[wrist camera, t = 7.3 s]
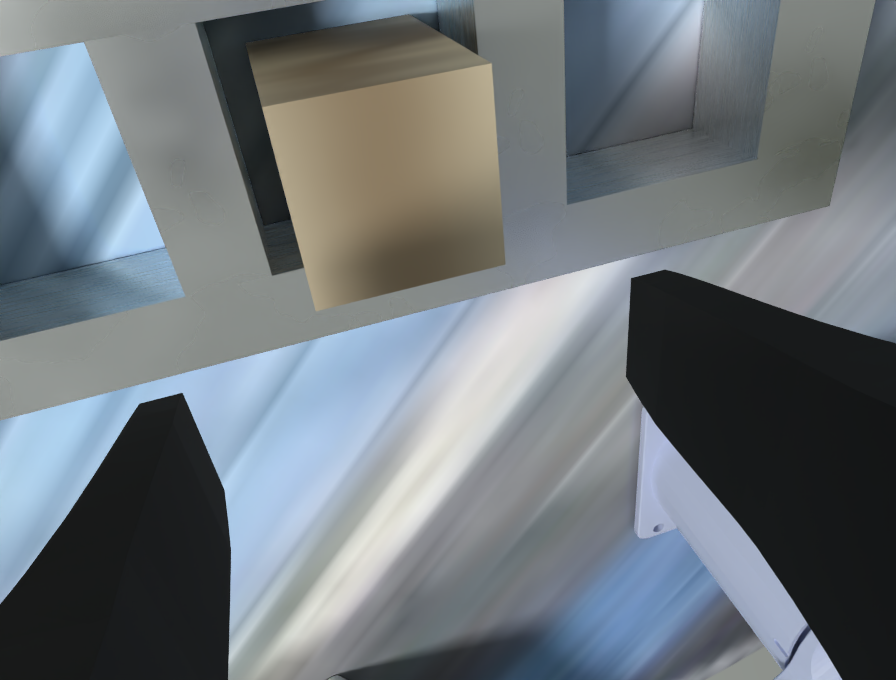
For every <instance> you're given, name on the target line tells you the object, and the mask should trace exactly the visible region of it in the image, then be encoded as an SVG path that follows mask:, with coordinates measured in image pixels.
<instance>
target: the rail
mask: <svg viewBox="0 0 896 680" xmlns="http://www.w3.org/2000/svg"><path fill="white" fill-rule="evenodd" d="M318 1H323V0H0V56H6V55H11V54H17V53H23V52H29V51H35V50H40V49H46V48H52V47H58V46H63V45H69V44H75V43H81V42H84V43H85V46H86V48H87V51H88V53H89V56H90V58H91V61H92V63H93V66H94V68H95V71H96V73H97V76H98V78H99V81H100V83H101V86H102V89H103V91H104V94H105V96H106V99H107V101H108V104H109V106H110V109H111V111H112V114H113V116H114V119H115V121H116V124H117V126H118V129H119V131H120V134H121V136H122V139H123V141H124V144H125V146H126V149H127V151H128V154H129V156H130V159H131V161H132V164H133V166H134V169H135V171H136V174H137V176H138V179H139V181H140V184H141V186H142V189H143V191H144V194H145V196H146V199H147V202H148V204H149V207H150V209H151V212H152V214H153V217H154V219H155V222H156V224H157V227H158V229H159V232H160V234H161V237H162V239H163V242H164V244H165V247H166V248H164V249H159V250H155V251H150V252H146V253H141V254H137V255H133V256H128V257H124V258H119V259H115V260H111V261H106V262H102V263H97V264H93V265H89V266H84V267H80V268H75V269H71V270H67V271H62V272H58V273H53V274H49V275H45V276H40V277H36V278H31V279H27V280H23V281H18V282H14V283H9V284H5V285H1V286H0V420H4V419H8V418H11V417H15V416H19V415H23V414H27V413H31V412H35V411H38V410H42V409H46V408H50V407H54V406H58V405H62V404H66V403H69V402H73V401H77V400H81V399H85V398H89V397H93V396H96V395H100V394H104V393H108V392H112V391H116V390H120V389H123V388H127V387H131V386H135V385H139V384H143V383H147V382H151V381H154V380H158V379H162V378H166V377H170V376H174V375H178V374H181V373H185V372H189V371H193V370H197V369H201V368H205V367H209V366H212V365H216V364H220V363H224V362H228V361H232V360H236V359H239V358H243V357H247V356H251V355H255V354H259V353H263V352H266V351H270V350H274V349H278V348H282V347H286V346H290V345H294V344H297V343H301V342H305V341H309V340H313V339H317V338H321V337H324V336H328V335H332V334H336V333H340V332H344V331H348V330H352V329H355V328H359V327H363V326H367V325H371V324H375V323H379V322H382V321H386V320H390V319H394V318H398V317H402V316H406V315H409V314H413V313H417V312H421V311H425V310H429V309H433V308H437V307H440V306H444V305H448V304H452V303H456V302H460V301H464V300H467V299H471V298H475V297H479V296H483V295H487V294H491V293H495V292H498V291H502V290H506V289H510V288H514V287H518V286H522V285H525V284H529V283H533V282H537V281H541V280H545V279H549V278H552V277H556V276H560V275H564V274H568V273H572V272H576V271H580V270H583V269H587V268H591V267H595V266H599V265H603V264H607V263H610V262H614V261H618V260H622V259H626V258H630V257H634V256H638V255H641V254H645V253H649V252H653V251H657V250H661V249H665V248H668V247H672V246H676V245H680V244H684V243H688V242H692V241H695V240H699V239H703V238H707V237H711V236H715V235H719V234H723V233H726V232H730V231H734V230H738V229H742V228H746V227H750V226H753V225H757V224H761V223H765V222H769V221H773V220H777V219H781V218H784V217H788V216H792V215H796V214H800V213H804V212H808V211H811V210H815V209H819V208H823V207H827V206H829V205H830V201H831V197H832V192H833V188H834V183H835V179H836V174H837V170H838V165H839V161H840V157H841V152H842V148H843V143H844V139H845V134H846V130H847V125H848V121H849V116H850V112H851V108H852V103H853V99H854V94H855V90H856V85H857V81H858V76H859V72H860V68H861V63H862V59H863V54H864V50H865V45H866V41H867V36H868V32H869V27H870V23H871V19H872V14H873V10H874V5H875V1H876V0H704V9H703V20H702V31H701V42H700V52H699V63H698V74H697V85H696V96H695V106H694V117H693V128H692V129H688V130H683V131H679V132H674V133H670V134H666V135H661V136H657V137H652V138H648V139H644V140H639V141H635V142H630V143H626V144H622V145H617V146H613V147H608V148H604V149H600V150H595V151H591V152H586V153H582V154H578V155H573V156H569V157H566V114H565V50H564V0H436V1H437V10H438V18H439V27H440V33H442V34H443V35H445V36H447V37H448V38H450V39H452V40H453V41H455V42H457V43H458V44H460V45H462V46H463V47H465V48H467V49H469V50H470V51H472V52H474V53H475V54H477V55H479V56H480V57H482V58H484V59H485V60H487V61H489V62H490V63H492V74H493V88H494V103H495V118H496V132H497V147H498V161H499V176H500V191H501V205H502V220H503V234H504V249H505V264H506V265H502V266H498V267H494V268H490V269H486V270H482V271H477V272H473V273H469V274H465V275H461V276H457V277H453V278H449V279H445V280H441V281H437V282H433V283H429V284H425V285H421V286H417V287H413V288H409V289H405V290H401V291H397V292H392V293H388V294H384V295H380V296H376V297H372V298H368V299H364V300H360V301H356V302H352V303H348V304H344V305H340V306H336V307H332V308H328V309H324V310H320V311H316V310H315V306H314V303H313V299H312V295H311V291H310V287H309V284H308V280H307V276H306V272H305V268H304V265H303V261H302V257H301V253H300V249H299V246H298V242H297V238H296V234H295V231H294V227H293V223H292V219H291V220H287V221H282V222H278V223H274V224H269V225H265V226H264V225H263V222H262V218H261V215H260V212H259V208H258V205H257V202H256V198H255V195H254V192H253V188H252V185H251V182H250V178H249V175H248V172H247V168H246V165H245V161H244V158H243V155H242V151H241V148H240V145H239V141H238V138H237V135H236V131H235V128H234V125H233V121H232V118H231V115H230V111H229V108H228V105H227V101H226V98H225V95H224V91H223V88H222V85H221V81H220V78H219V74H218V71H217V68H216V64H215V61H214V58H213V54H212V51H211V48H210V44H209V41H208V38H207V34H206V31H205V28H204V24H203V21H208V20H214V19H219V18H225V17H231V16H237V15H242V14H248V13H254V12H260V11H266V10H271V9H277V8H283V7H289V6H294V5H300V4H306V3H312V2H318Z"/></svg>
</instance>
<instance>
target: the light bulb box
mask: <svg viewBox="0 0 896 680" xmlns="http://www.w3.org/2000/svg"><path fill="white" fill-rule="evenodd" d="M328 680H346V679H344V678H343V677H341V676H338V675H335V676H332V677H331V678H329V679H328Z"/></svg>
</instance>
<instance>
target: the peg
mask: <svg viewBox="0 0 896 680" xmlns="http://www.w3.org/2000/svg"><path fill="white" fill-rule="evenodd" d="M245 45H246V48H247V52H248V56H249V60H250V64H251V67H252V71H253V75H254V79H255V83H256V86H257V90H258V94H259V98H260V102H261V105H262V109H263V113H264V117H265V121H266V124H267V128H268V132H269V136H270V140H271V143H272V147H273V151H274V155H275V158H276V162H277V166H278V170H279V174H280V177H281V181H282V185H283V189H284V193H285V196H286V200H287V204H288V208H289V212H290V215H291V219H292V223H293V227H294V231H295V234H296V238H297V242H298V246H299V249H300V253H301V257H302V261H303V265H304V268H305V272H306V276H307V280H308V284H309V287H310V291H311V295H312V299H313V303H314V306H315V310H316V311H320V310H324V309H328V308H332V307H336V306H340V305H344V304H348V303H352V302H356V301H360V300H364V299H368V298H372V297H376V296H380V295H384V294H388V293H392V292H397V291H401V290H405V289H409V288H413V287H417V286H421V285H425V284H429V283H433V282H437V281H441V280H445V279H449V278H453V277H457V276H461V275H465V274H469V273H473V272H477V271H482V270H486V269H490V268H494V267H498V266H502V265H506V264H505V249H504V234H503V220H502V205H501V191H500V176H499V161H498V147H497V132H496V118H495V103H494V88H493V74H492V63H490V62H489V61H487V60H485V59H484V58H482V57H480V56H479V55H477V54H475V53H474V52H472V51H470V50H469V49H467V48H465V47H463V46H462V45H460V44H458V43H457V42H455V41H453V40H452V39H450V38H448V37H447V36H445V35H443V34H442V33H440V32H438V31H436V30H435V29H433V28H431V27H430V26H428V25H426V24H425V23H423V22H421V21H420V20H418V19H416V18H415V17H413V16H411V15H409V14H408V15H403V16H397V17H391V18H385V19H379V20H374V21H368V22H362V23H356V24H351V25H345V26H339V27H333V28H327V29H322V30H316V31H310V32H304V33H299V34H293V35H287V36H281V37H275V38H270V39H264V40H258V41H252V42H247V43H245Z"/></svg>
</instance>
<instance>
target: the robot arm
mask: <svg viewBox="0 0 896 680" xmlns="http://www.w3.org/2000/svg"><path fill="white" fill-rule="evenodd" d="M626 378H627V379H628V381H629V383H630V384H631V386H632V388H633V389H634V391H635V393H636V394H637V396H638V398H639V399H640V401H641V403H642V404H643V406H644V407H643V409H642V419H641V434H640V449H639V464H638V480H637V495H636V510H635V526H634V530H635V532H636V534H637V535H638V537H640V538H643V539H645V538H649V537H652V536H655V535H658V534H661V533H664V532H667V531H670V530H673V529H676V528H678V530H679V531H680V532H681V534H682V535H683V536H684V538H685V539H686V541H687V542H688V543H689V545H690V546H691V547H692V549H693V550H694V551H695V553H696V554H697V555H698V557H699V558H700V559H701V561H702V562H703V563H704V565H705V566H706V568H707V569H708V570H709V572H710V573H711V574H712V576H713V577H714V578H715V580H716V581H717V582H718V584H719V585H720V586H721V588H722V589H723V590H724V592H725V593H726V595H727V596H728V597H729V599H730V600H731V601H732V603H733V604H734V605H735V607H736V608H737V609H738V611H739V612H740V613H741V615H742V616H743V617H744V619H745V620H746V622H747V623H748V624H749V626H750V627H751V628H752V630H753V631H754V632H755V634H756V635H757V636H758V638H759V639H760V640H761V642H762V643H763V644H764V646H765V647H766V648H767V650H768V651H769V652H770V654H771V655H772V657H773V658H774V659H775V661H776V662H777V663H778V665H779V666H780V667H781V669H782V670H783V671H782V672H781V673H780V674H779V675H778V676H777V677H776V678H774V679H773V680H896V343H892V342H889V341H885V340H881V339H877V338H874V337H870V336H866V335H863V334H860V333H856V332H853V331H850V330H846V329H843V328H840V327H836V326H833V325H830V324H826V323H823V322H820V321H817V320H814V319H811V318H808V317H805V316H802V315H799V314H796V313H793V312H790V311H787V310H784V309H781V308H778V307H775V306H772V305H769V304H767V303H764V302H761V301H758V300H755V299H752V298H750V297H747V296H744V295H741V294H738V293H736V292H733V291H730V290H727V289H724V288H722V287H719V286H716V285H713V284H710V283H707V282H704V281H701V280H698V279H695V278H692V277H689V276H686V275H683V274H679V273H676V272H672V271H668V270H662V271H658V272H654V273H650V274H646V275H642V276H638V277H634V278H631V292H630V311H629V330H628V348H627V367H626ZM230 574H231V547H230V537H229V526H228V517H227V509H226V500H225V492H224V488H223V486H222V484H221V481H220V479H219V477H218V474H217V472H216V470H215V467H214V465H213V463H212V460H211V458H210V456H209V453H208V451H207V449H206V446H205V444H204V442H203V439H202V437H201V435H200V433H199V430H198V428H197V426H196V423H195V421H194V419H193V416H192V414H191V412H190V409H189V407H188V405H187V402H186V400H185V398H184V395H183V393H180V394H176V395H172V396H168V397H164V398H160V399H156V400H153V401H149V402H145V403H141V404H139V405H138V407H137V408H136V410H135V411H134V413H133V414H132V416H131V418H130V419H129V421H128V422H127V424H126V425H125V427H124V428H123V430H122V432H121V433H120V435H119V436H118V438H117V440H116V441H115V443H114V444H113V446H112V448H111V449H110V451H109V452H108V454H107V456H106V457H105V459H104V460H103V462H102V463H101V465H100V467H99V468H98V470H97V471H96V473H95V474H94V476H93V478H92V479H91V481H90V482H89V484H88V485H87V487H86V488H85V490H84V491H83V493H82V494H81V496H80V497H79V499H78V500H77V502H76V503H75V505H74V506H73V508H72V509H71V511H70V512H69V514H68V515H67V517H66V518H65V520H64V521H63V522H62V524H61V525H60V526H59V528H58V529H57V531H56V532H55V533H54V535H53V536H52V537H51V539H50V540H49V541H48V543H47V544H46V546H45V547H44V548H43V550H42V551H41V552H40V554H39V555H38V557H37V558H36V559H35V561H34V562H33V563H32V565H31V566H30V567H29V569H28V570H27V572H26V573H25V574H24V575H23V577H22V578H21V579H20V581H19V582H18V583H17V584H16V586H15V587H14V588H13V589H12V591H11V592H10V593H9V594H8V595H7V597H6V598H5V599H4V600H3V602H2V603H1V604H0V680H228V656H229V618H230Z"/></svg>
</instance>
